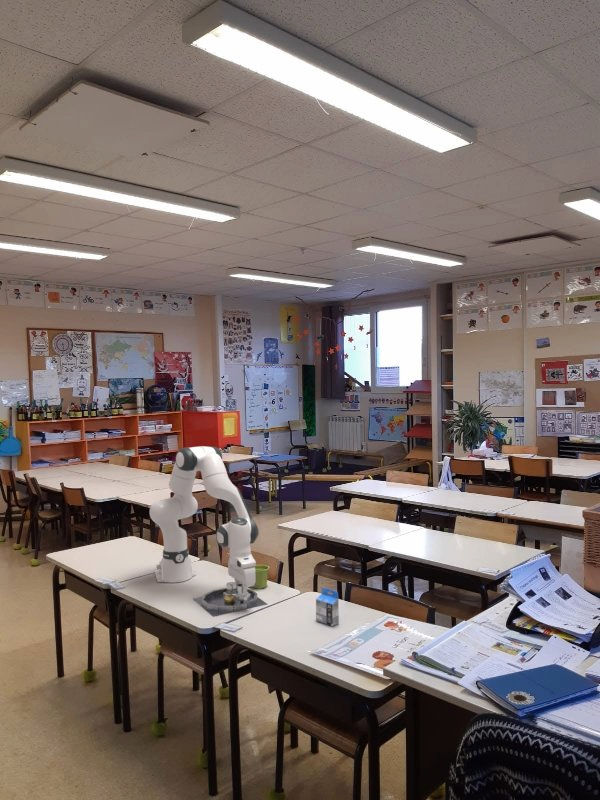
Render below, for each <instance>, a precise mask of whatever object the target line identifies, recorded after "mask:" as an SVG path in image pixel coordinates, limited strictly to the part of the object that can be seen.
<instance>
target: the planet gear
mask: <svg viewBox="0 0 600 800" xmlns="http://www.w3.org/2000/svg"><path fill="white" fill-rule="evenodd" d="M242 589H243V586H242V583H240V584H237V585H236V594H233V599H235V601H246V600H247V599H250V597H251V595H250V594H249V593H248V592H247V594H243V593H242Z"/></svg>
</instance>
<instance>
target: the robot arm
mask: <svg viewBox="0 0 600 800" xmlns="http://www.w3.org/2000/svg"><path fill="white" fill-rule="evenodd" d="M197 472H200V474H201V478H202V484H203V487H204V490H205V492H206V493H207V494H208V495H209V496H211V497H212V498H215V499H218V500H224V501H226V502H228V503H230V504H231V505H232V506H233V508H234V510H235V512H236V514H237V517H235V518H232V519H230V520H229V522H228V523H224V524H221V525H219V526H218V528H217V530H216V532H215V538H216V542H217V544H218V545H219V546H220V547H222V548H229V559H228V563H227V566H228V567H227V568H228V569H227V572H228V575H229V576H230V577H231V578H233V579H234V582H235V583H236V585H237V584H240V583H242V586H243V589H242V593H243V594H247V589H249V587H250V588H251V587H253V586H254V585H255V579H256V574H255V567H254V566H256V565H257V562H256V559H254V557H253V555H252V549H251V544H254V543H255V542H256V541H257V538H258V536H259V527H258V525H257V523H256V522H255V520H254V518H253V516H252V515H251V512H250V510H249V508H248V506H247V504H246V501H245V499H244V496H243V494H242V492H241V490H240V489H239V488H238V486H236V485H235V484H233V483H232V481H231V479H230V477H229V475H228V473H227V469H226V466H225V464H224V461H223V454H222V452H221V449H220V448H218V447H217V446H204V445H201V446H200V445H198V446H192V447H187V446H186V447H182V448H180V449H179V450H177V452H176V455H175V462H174V465H173V468H172V472H171V475H170V480H169V483H168V486H169V489H170V490H171V491H172V493H174V494H173V496H172V497H169V498H164V499H160V500H158V501H156V502H154V503H152V504H151V506H150V507H149V517H150V519H151V520H152V521H153V522H154V523H155V524H157V525H158V526H159V529H160V530H161V534H162V538H163V539H162V540H163V550H162V558H161V560H160V561H159V564H156V571H154V575H155V578H156V583H157V582H158V583H163V582H164V583H181V582H186V581H189V580H190V579H192V577H194V576H196V575H197V574H196V572H195V571H193V570H194V569H193V560H192V558H191V557H190V555H189V553H190V551H189V547H188V535H187V531H186V529H184V528H182V527H180V526H179V522H178V521H180V520H182V519H187V518H190V517H192V516H193V515H195V514H196V513H197V512H198V508H199V506H198V505H199V503H198V501H197V499H196V498H195V496H193V488H194V487H193V486H194V484H195V479H196V477H197Z"/></svg>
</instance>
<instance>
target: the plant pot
mask: <svg viewBox="0 0 600 800" xmlns="http://www.w3.org/2000/svg"><path fill="white" fill-rule="evenodd" d="M254 567H255V574H256V579H255V585H254V586H252V587H253V588H255V589H257V590H258V589H263V588H266V587H267V586H268V585H267V584H268V572H269V569H270V566H269V565H266V564H265V565H264V564H256V566H254Z"/></svg>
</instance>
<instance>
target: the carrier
mask: <svg viewBox="0 0 600 800" xmlns="http://www.w3.org/2000/svg"><path fill="white" fill-rule="evenodd" d="M225 586H226V587H223V588H218V589H213V590H211V591H209V592H207V593H205V594H203V596H201V597H200V596H199V597H196V598H195V597H194V598H192V600H193V601H195V602H196V603H197V604H198V605H199V606H200V607H201V608H202V609H203V610H205V611H206V612H207V613H208V614H209V615H210V616H211V617H213V618H214V617H215V618H216V617H219V616H223V615H227V614H232V613H236V612H240V611H244V610H249V609H254V608H258V607H263V606H267V605H268V603H267V602H266V601H264V600H262V599H261V598H259V596H258V593H257V592H256V591H254V590H253V589H251V588H247V592H248V593H249V594H250V595H251V597H250V599H247V600H246V601H235V599H233V594H236V583H235V581H228V582H226V585H225Z"/></svg>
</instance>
